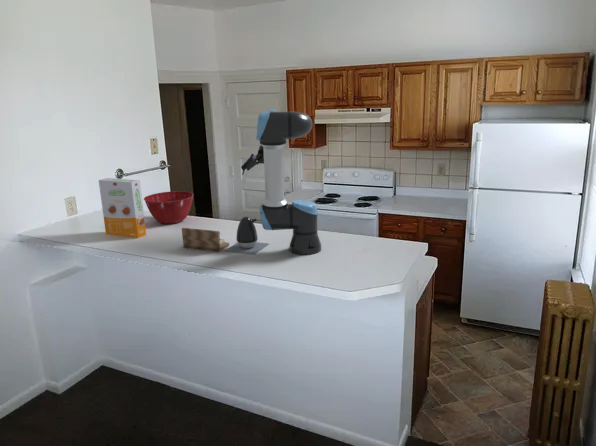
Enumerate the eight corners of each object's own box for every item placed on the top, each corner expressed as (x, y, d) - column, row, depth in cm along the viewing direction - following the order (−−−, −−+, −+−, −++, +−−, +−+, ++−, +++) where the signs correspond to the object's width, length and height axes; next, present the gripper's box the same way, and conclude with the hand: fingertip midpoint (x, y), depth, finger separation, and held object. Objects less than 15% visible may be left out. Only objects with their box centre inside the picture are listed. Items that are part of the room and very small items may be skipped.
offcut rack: (229, 245, 229) (228, 226, 227) (218, 251, 220) (217, 231, 218) (194, 241, 237) (193, 223, 234) (183, 247, 228) (181, 228, 225)
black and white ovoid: (255, 250, 220) (253, 219, 216) (234, 249, 222) (232, 219, 218) (260, 244, 230) (259, 214, 226) (240, 243, 232) (239, 213, 228)
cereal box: (146, 235, 250) (139, 180, 242) (138, 238, 245) (131, 182, 237) (114, 231, 259) (107, 178, 251) (105, 234, 254) (98, 180, 246)
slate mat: (269, 244, 230) (269, 243, 230) (254, 254, 216) (254, 253, 216) (240, 241, 236) (240, 240, 236) (224, 251, 222) (224, 250, 221)
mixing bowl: (166, 230, 258) (164, 203, 254) (136, 223, 275) (133, 197, 271) (205, 219, 280) (203, 194, 276) (175, 213, 297) (172, 189, 292)
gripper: (290, 153, 241) (280, 187, 231) (247, 152, 250) (236, 184, 240) (286, 144, 235) (275, 178, 225) (242, 143, 244) (230, 176, 234)
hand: (255, 181), depth 233 cm, fingers open, 13 cm apart
